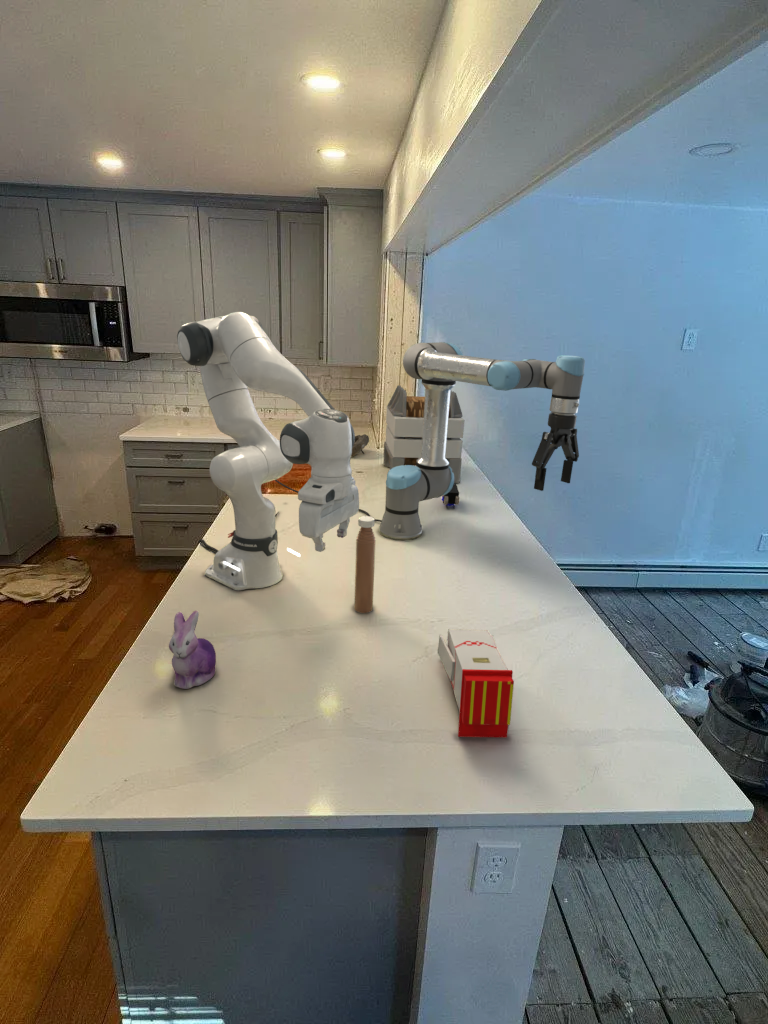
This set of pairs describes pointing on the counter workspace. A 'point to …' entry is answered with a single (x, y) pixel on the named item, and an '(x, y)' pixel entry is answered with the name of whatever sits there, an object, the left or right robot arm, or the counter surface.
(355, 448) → the fossil
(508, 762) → the counter surface
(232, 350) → the left robot arm
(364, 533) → the bottle
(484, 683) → the toy
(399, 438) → the grey slatted box
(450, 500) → the figurine character
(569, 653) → the counter surface
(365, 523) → the cap
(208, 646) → the figurine
